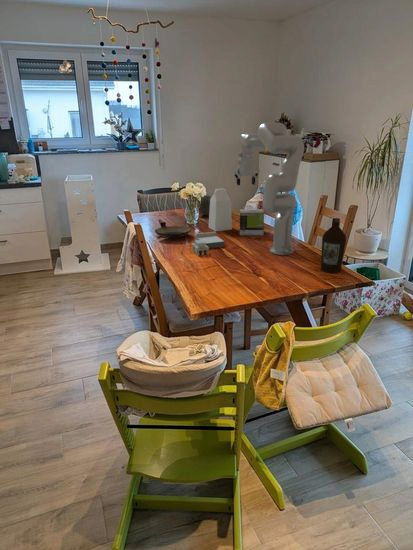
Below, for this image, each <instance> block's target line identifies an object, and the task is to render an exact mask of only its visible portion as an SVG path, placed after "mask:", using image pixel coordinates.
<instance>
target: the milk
mask: <svg viewBox="0 0 413 550" xmlns="http://www.w3.org/2000/svg"><path fill="white" fill-rule="evenodd" d="M210 197H211V199H210V210H209V215H208V228H209V229H210V230H213V232H221V231H222V232H223V231H231V230H233V221H232V219H233V218H232V201H231V199H230V196H229V195H228V193H227V190H226V188H216V189H214V192H213V195H212V196H210Z"/></svg>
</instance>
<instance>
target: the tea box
mask: <svg viewBox="0 0 413 550" xmlns="http://www.w3.org/2000/svg"><path fill="white" fill-rule="evenodd" d="M264 225H265V211H264V209H262V208H257V209H256V208H255V209H251V208H248V209H247V208H245V209H244V208H242V209H239V235H240V236H264V231H265V229H264V228H265V227H264Z"/></svg>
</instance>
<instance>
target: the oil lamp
mask: <svg viewBox="0 0 413 550" xmlns="http://www.w3.org/2000/svg"><path fill="white" fill-rule="evenodd" d="M158 222H159V225H160V227H158V228H156V229H155V230H154V232H155V234H156V235H158V236H159V237H160V236H161V237H163V238H167V239H175V238H180V237H183V236H185V235H188V234H189V233H190V232H192V228H191V227H189V226H182V225H181V226H175V225H173V226H169V225H168V226H167V222H166V221H163V220H162V218H159V219H158Z"/></svg>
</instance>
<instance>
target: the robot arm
mask: <svg viewBox="0 0 413 550" xmlns="http://www.w3.org/2000/svg"><path fill="white" fill-rule="evenodd" d="M286 126H287V125H285V124H284V123H282V122H264V123H262V124H260V125H259V127H258V129H257V133H242V134H241V136H240V153H238V157H239V158H238V163H237V168H236V169H235V170H233V171H232V175H233V176H234V177H235V179H236V184H237V186H241V177H242V176H243V177H244V176H252V177H251V184H252V185H256V178H257V177H258V175H259V173H260V169H258V168H257V167H256V162H255V161H256V160H255V157H254V148H266V149H265V150H266V151H268V152H269V153H270V154H273V155H277V154H278V155H280V154H287V156H286V157H285V158H284V160H283V161H282V165H281V169H280V170H281V171H280V172H279V173H278V172H277V173H271V174H268V176H267V178H266V179H265V184H264V190H263V199H262V208H263V210H264V213H266V214H276V215H275V217H274V221H273V222H274V225H273V226H274V227H273V236H272V237H273V239H272V240H273V241H272V247H270V248H269V252H270V253H271V254H273V255H279V256H280V255H281V256H286V255H287V256H288V255H291V254H293V253H294V248H292V233H293V222H294V214H295V213H294V212H295V209H296V204H297V198H296V197H295V195H293V193H290V192H292V191H294V190H295V189H296V186H297V181H298V175H299V171H300V170H299V169H300V166H301V161H302V158H303V156H304V153H305V143H304V141H303V138H302V137H301V136H299V135H293V134H287V131H288V129H287V127H286ZM288 192H289V193H288Z"/></svg>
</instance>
